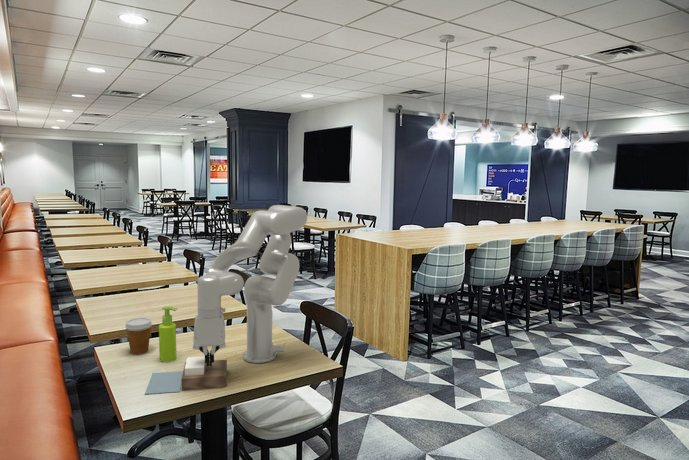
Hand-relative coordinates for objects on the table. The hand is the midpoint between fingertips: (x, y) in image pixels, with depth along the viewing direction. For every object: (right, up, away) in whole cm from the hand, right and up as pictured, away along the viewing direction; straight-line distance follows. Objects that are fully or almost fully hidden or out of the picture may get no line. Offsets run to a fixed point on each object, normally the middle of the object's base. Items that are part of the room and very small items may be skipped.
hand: (209, 364), depth 160 cm
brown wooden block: (-2, -5, +1) cm, 6 cm away
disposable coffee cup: (-33, -1, +22) cm, 40 cm away
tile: (-4, -1, -1) cm, 5 cm away
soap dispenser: (-20, -3, +16) cm, 26 cm away
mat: (-14, -5, -2) cm, 15 cm away
